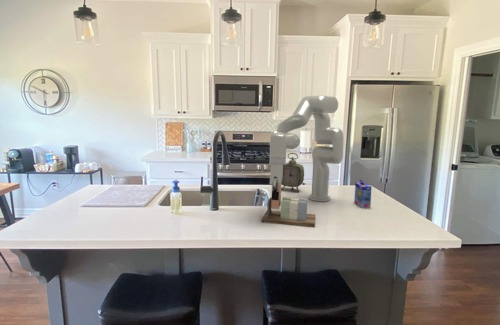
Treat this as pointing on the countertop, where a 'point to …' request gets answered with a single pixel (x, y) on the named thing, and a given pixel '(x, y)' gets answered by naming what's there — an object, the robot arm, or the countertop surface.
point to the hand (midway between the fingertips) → (276, 197)
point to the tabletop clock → (292, 174)
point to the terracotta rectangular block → (276, 203)
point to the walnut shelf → (288, 221)
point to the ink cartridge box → (362, 194)
